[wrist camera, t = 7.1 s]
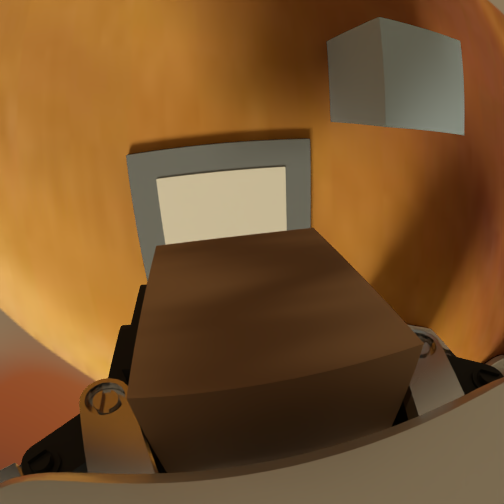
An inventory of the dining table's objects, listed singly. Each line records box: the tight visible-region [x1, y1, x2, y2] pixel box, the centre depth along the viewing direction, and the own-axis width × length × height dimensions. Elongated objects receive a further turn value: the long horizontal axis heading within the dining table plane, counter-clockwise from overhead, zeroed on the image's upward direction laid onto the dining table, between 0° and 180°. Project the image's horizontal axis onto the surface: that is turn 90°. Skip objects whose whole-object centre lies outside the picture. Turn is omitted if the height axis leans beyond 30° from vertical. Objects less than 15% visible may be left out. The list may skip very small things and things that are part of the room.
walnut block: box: [126, 228, 424, 473], centre depth 8 cm, size 5×5×6 cm
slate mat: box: [126, 139, 311, 281], centre depth 18 cm, size 10×10×1 cm
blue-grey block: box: [327, 17, 464, 135], centre depth 14 cm, size 5×5×6 cm
